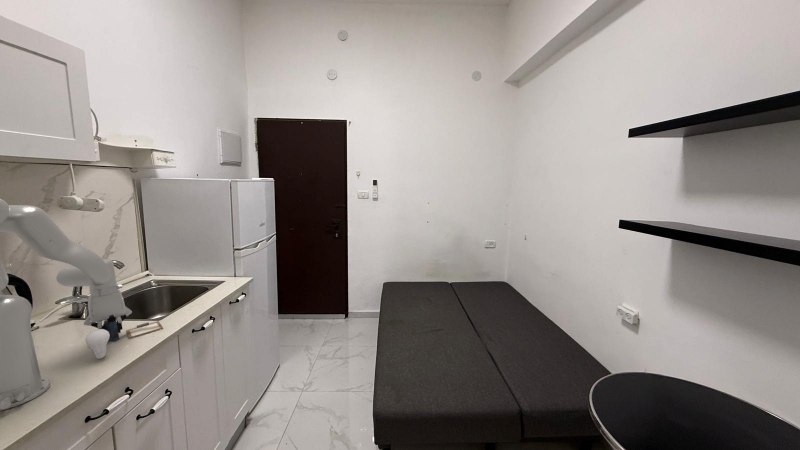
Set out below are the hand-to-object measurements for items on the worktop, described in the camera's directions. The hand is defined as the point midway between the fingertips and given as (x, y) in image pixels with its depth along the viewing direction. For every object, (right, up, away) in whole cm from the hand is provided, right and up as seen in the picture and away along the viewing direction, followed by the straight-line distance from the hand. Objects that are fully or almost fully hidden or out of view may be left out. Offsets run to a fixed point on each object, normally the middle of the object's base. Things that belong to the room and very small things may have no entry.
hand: (111, 333), depth 118 cm
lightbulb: (+8, -5, -12) cm, 15 cm away
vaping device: (0, -3, 0) cm, 3 cm away
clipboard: (+7, -2, +8) cm, 10 cm away
